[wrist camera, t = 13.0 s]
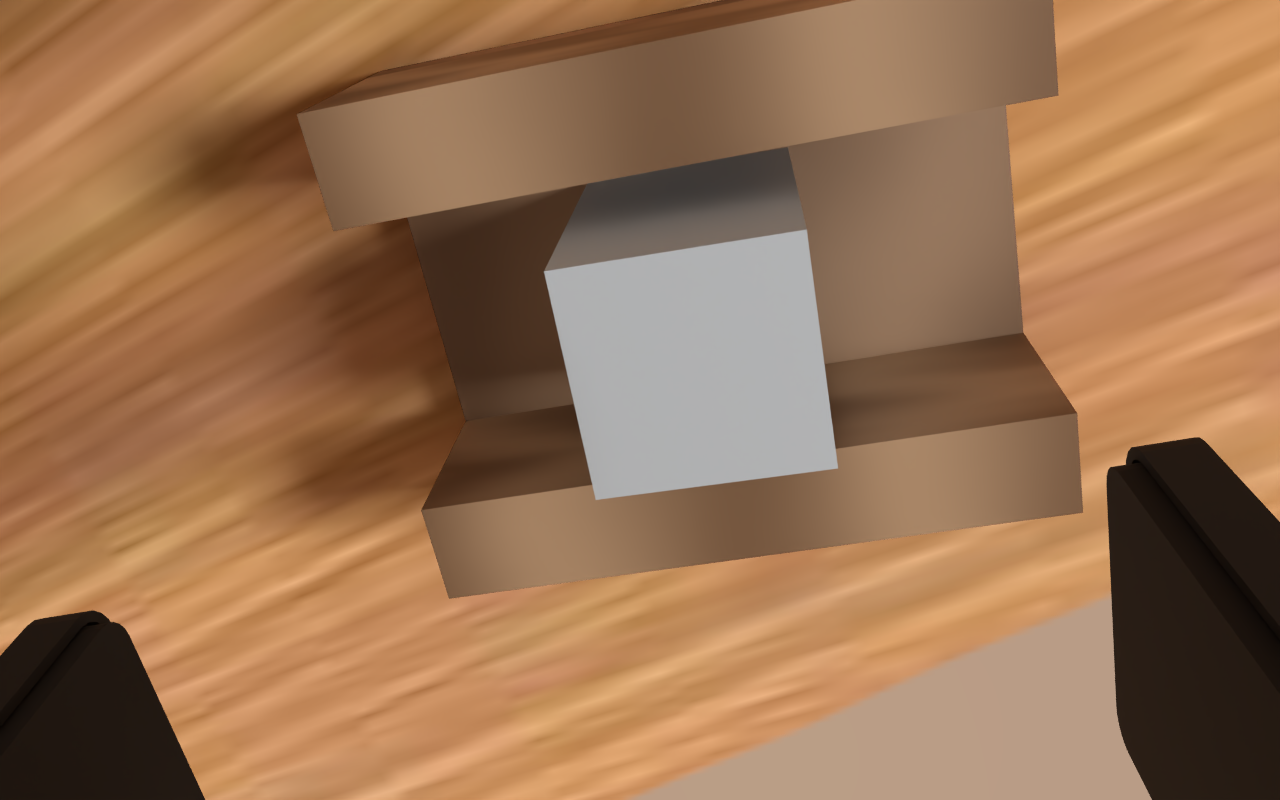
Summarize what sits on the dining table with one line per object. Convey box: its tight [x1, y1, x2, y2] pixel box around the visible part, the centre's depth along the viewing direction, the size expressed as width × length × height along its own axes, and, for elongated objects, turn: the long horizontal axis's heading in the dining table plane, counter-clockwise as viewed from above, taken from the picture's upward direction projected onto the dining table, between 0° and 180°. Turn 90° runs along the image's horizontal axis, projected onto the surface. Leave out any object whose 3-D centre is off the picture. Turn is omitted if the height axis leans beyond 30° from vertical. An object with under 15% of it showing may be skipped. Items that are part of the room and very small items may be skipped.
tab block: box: [544, 147, 838, 500], centre depth 21 cm, size 4×4×6 cm
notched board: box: [297, 0, 1083, 599], centre depth 22 cm, size 12×10×5 cm
